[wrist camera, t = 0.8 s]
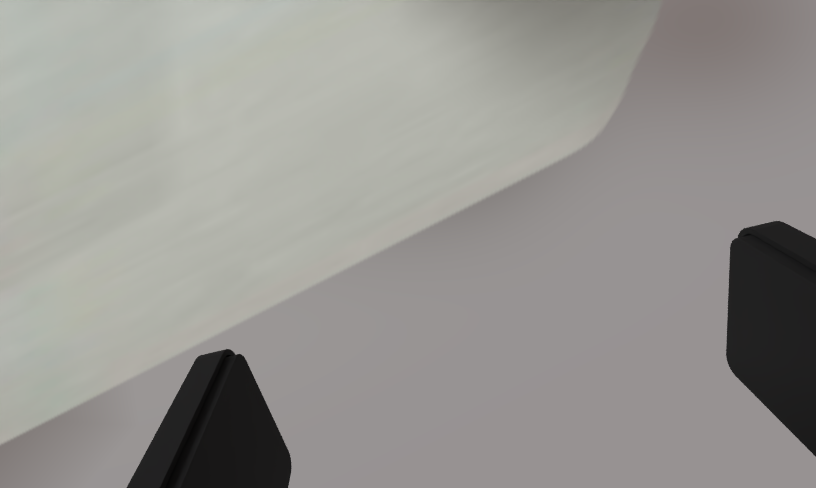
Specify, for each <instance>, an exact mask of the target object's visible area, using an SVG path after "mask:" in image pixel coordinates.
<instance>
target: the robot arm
mask: <svg viewBox="0 0 816 488" xmlns="http://www.w3.org/2000/svg"><path fill="white" fill-rule="evenodd" d="M726 351H727V352H726V356H727V361H728V364H729V367H730V369H731V370H732V372H733V373H734V374H735V376H736V377H737V378H739V380H740V381H741V382H742V383H743V384H744V385H745V386H746V387H747V388H748V389H749V390H751V392H752V393H753V394H754V395H755V396H756V397H757V398H758V399H759V400H760V401H761V402H762V403H763V404H764V405H765V406H766V407H767V408H768V409H769V410H770V411H771V412H772V413H773V414H774V415H775V416H776V417H777V418H778V419H779V420H780V421H781V422H782V423H783V424H784V425H785V426H786V427H787V428H788V429H789V430H790V431H791V432H792V433H793V434H794V435H795V436H796V437H797V438H798V439H799V440H800V441H801V442H802V443H803V444H804V445H805V446H806V447H807V448H808V449H809V450H810V451H811V452H812V453H813V454H814V455H815V456H816V239H815V238H813V237H811V236H809V235H807V234H805V233H803V232H801V231H799V230H797V229H795V228H794V227H791V226H790V225H788V224H785V223H783V222H780V221H774V222H770V223H765V224H761V225H757V226H753V227H749V228H744V229H743V230H741V231H740V233H739V235H738V238H736V239H734V240H733V241H732V243H731V247H730V270H729V296H728V323H727V349H726ZM290 474H291V458H290V454H289V451H288V449H287V447H286V445H285V443H284V441H283V439H282V436H281V434H280V432H279V430H278V428H277V426H276V423H275V421H274V419H273V417H272V415H271V413H270V411H269V409H268V406H267V404H266V402H265V400H264V398H263V396H262V393H261V391H260V389H259V387H258V385H257V383H256V381H255V379H254V376H253V374H252V372H251V370H250V368H249V366H248V364H247V361H246V360H245V358H244V356H242V355H241V354H237V355H235V354H234V352H233V351H231V350H229V349H226V350H222V351H217V352H213V353H209V354H205V355H201V356H199V357H197V359H196V360H195V362H194V364H193V366H192V367H191V369H190V371H189V373H188V375H187V377H186V379H185V381H184V382H183V384H182V386H181V388H180V390H179V392H178V394H177V395H176V397H175V399H174V401H173V403H172V405H171V406H170V408H169V410H168V412H167V414H166V416H165V418H164V419H163V421H162V423H161V425H160V427H159V429H158V431H157V432H156V434H155V436H154V438H153V440H152V442H151V444H150V445H149V447H148V449H147V451H146V453H145V455H144V457H143V459H142V460H141V462H140V464H139V466H138V468H137V470H136V472H135V473H134V475H133V477H132V479H131V481H130V483H129V484H128V487H127V488H288V485H289V480H290Z"/></svg>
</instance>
